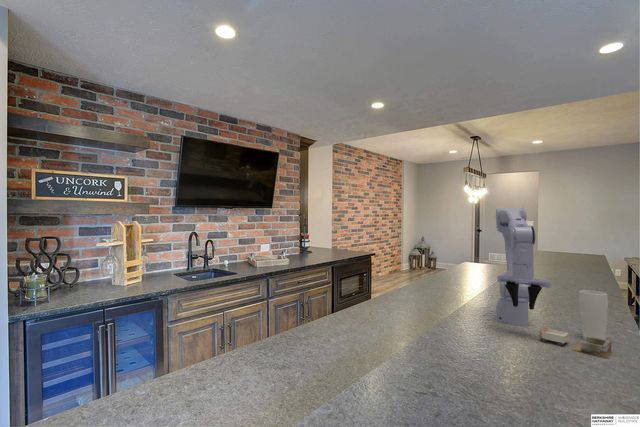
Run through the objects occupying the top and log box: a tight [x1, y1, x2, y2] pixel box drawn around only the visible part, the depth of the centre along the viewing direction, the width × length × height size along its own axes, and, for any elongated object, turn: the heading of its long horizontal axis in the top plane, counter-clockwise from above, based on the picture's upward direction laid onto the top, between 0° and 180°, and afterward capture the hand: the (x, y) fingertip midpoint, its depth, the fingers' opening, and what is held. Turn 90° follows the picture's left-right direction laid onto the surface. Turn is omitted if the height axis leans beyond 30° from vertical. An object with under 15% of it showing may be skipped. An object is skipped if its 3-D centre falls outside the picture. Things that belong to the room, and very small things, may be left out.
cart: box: [538, 327, 570, 347], centre depth 95 cm, size 6×5×3 cm
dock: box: [571, 336, 612, 359], centre depth 93 cm, size 19×12×4 cm, turn 40°
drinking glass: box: [578, 289, 609, 340], centre depth 98 cm, size 7×7×15 cm
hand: (523, 307), depth 102 cm, fingers open, 4 cm apart
